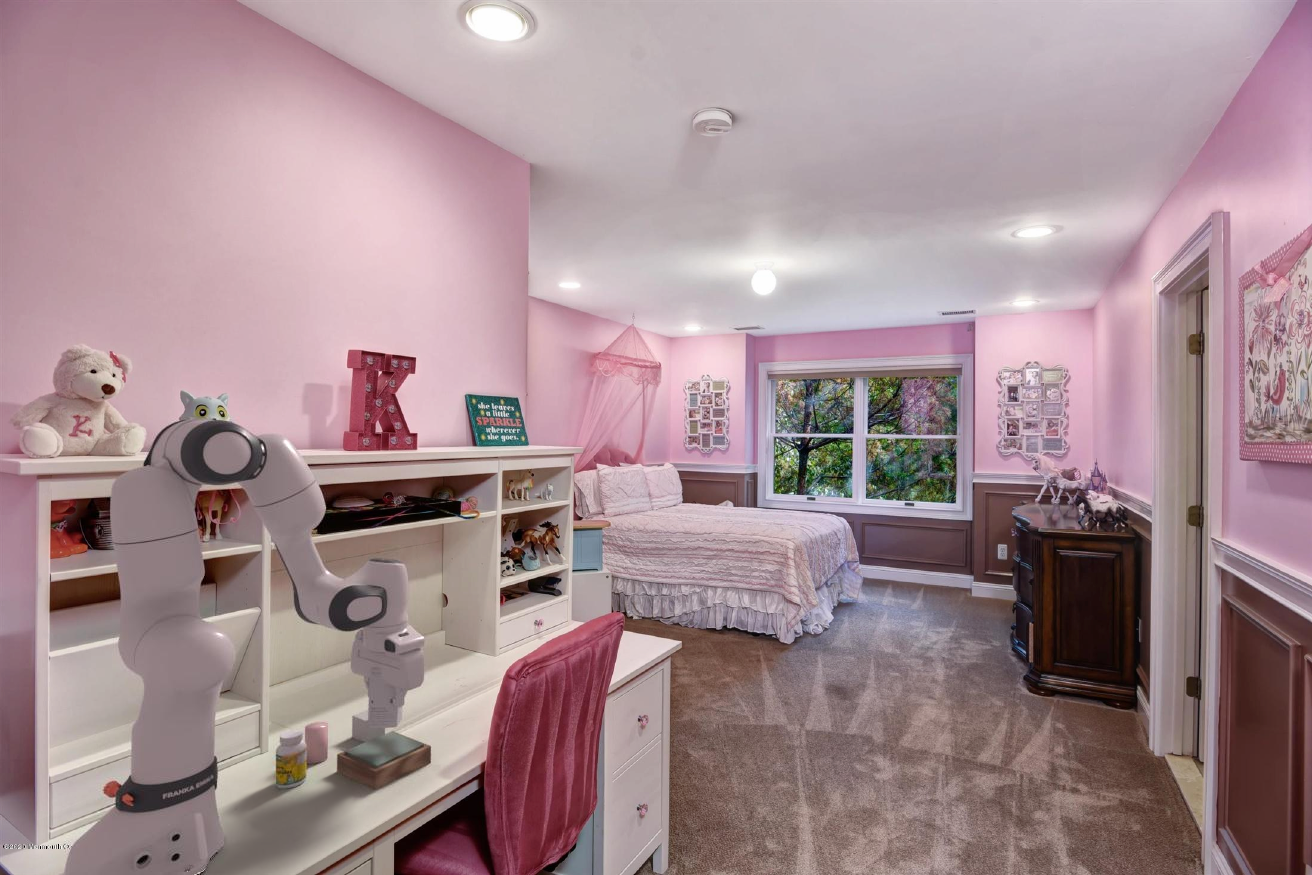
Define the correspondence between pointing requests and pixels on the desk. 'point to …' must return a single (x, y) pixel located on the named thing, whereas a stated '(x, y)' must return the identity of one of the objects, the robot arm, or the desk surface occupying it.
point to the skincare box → (382, 703)
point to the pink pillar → (316, 742)
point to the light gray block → (364, 728)
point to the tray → (383, 759)
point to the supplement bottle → (291, 760)
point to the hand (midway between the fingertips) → (385, 701)
